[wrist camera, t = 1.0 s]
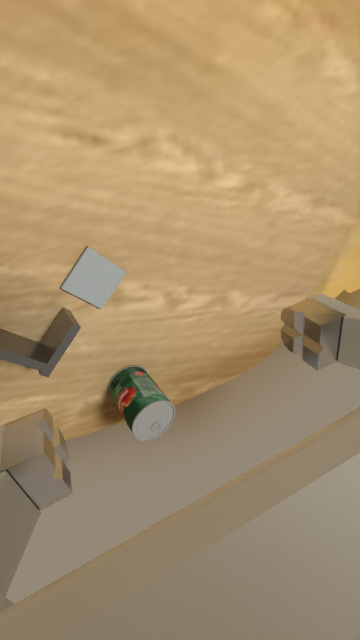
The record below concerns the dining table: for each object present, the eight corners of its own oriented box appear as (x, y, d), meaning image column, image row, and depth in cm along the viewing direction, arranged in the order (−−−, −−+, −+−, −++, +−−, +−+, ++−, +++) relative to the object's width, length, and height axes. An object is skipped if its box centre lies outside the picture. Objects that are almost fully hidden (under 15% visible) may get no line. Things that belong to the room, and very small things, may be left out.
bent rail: (-47, 326, 37) (-51, 356, 31) (-13, 272, 37) (-10, 293, 31) (40, 355, 45) (50, 383, 39) (70, 310, 44) (84, 332, 39)
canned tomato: (103, 377, 53) (126, 418, 44) (142, 358, 56) (171, 392, 47) (114, 407, 57) (138, 449, 49) (150, 387, 60) (178, 424, 52)
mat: (60, 287, 42) (61, 288, 42) (86, 245, 42) (88, 246, 41) (100, 307, 47) (101, 309, 46) (124, 270, 46) (126, 271, 46)
